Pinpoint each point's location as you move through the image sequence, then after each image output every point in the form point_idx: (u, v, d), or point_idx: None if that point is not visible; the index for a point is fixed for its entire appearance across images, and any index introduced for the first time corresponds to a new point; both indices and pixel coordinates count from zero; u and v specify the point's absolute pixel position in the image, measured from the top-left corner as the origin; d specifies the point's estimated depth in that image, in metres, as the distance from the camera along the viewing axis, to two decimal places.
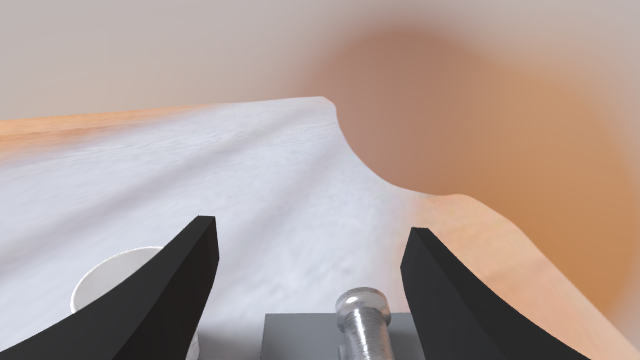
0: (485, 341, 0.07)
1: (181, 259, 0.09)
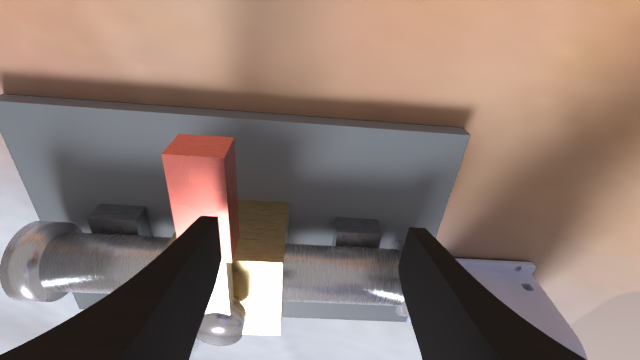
0: (481, 341, 0.07)
1: (185, 259, 0.09)
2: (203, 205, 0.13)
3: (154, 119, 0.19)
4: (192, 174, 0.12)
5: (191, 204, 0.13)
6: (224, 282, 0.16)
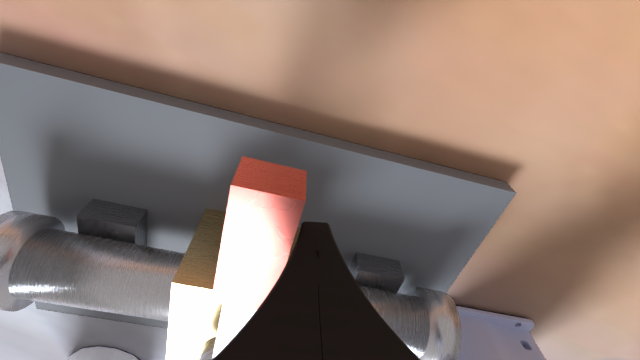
0: (320, 336, 0.07)
1: (317, 265, 0.09)
2: (260, 247, 0.11)
3: (183, 117, 0.17)
4: (259, 213, 0.10)
5: (246, 245, 0.11)
6: None
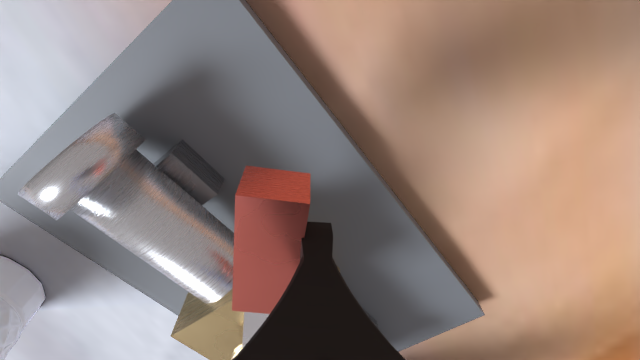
0: (305, 335, 0.07)
1: (329, 266, 0.09)
2: (272, 253, 0.11)
3: (334, 135, 0.17)
4: (267, 220, 0.10)
5: (258, 252, 0.11)
6: None
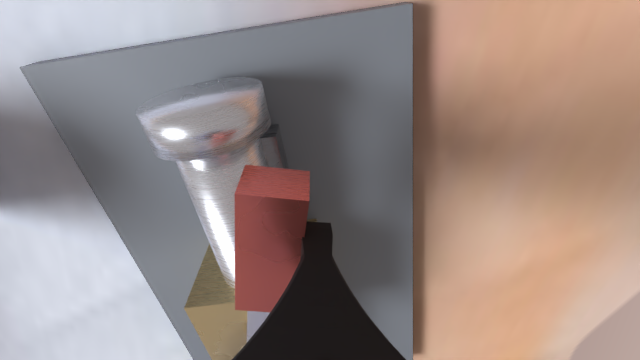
0: (306, 335, 0.07)
1: (329, 266, 0.09)
2: (273, 252, 0.11)
3: (404, 183, 0.19)
4: (266, 218, 0.10)
5: (259, 250, 0.11)
6: None
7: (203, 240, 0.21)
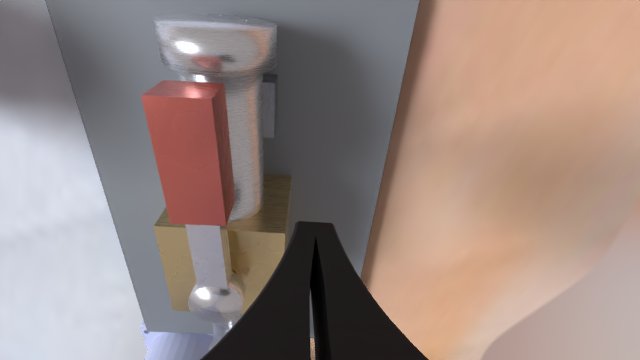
0: (327, 336, 0.07)
1: (309, 265, 0.09)
2: (191, 157, 0.12)
3: (378, 158, 0.21)
4: (176, 120, 0.11)
5: (178, 156, 0.12)
6: (219, 250, 0.15)
7: None
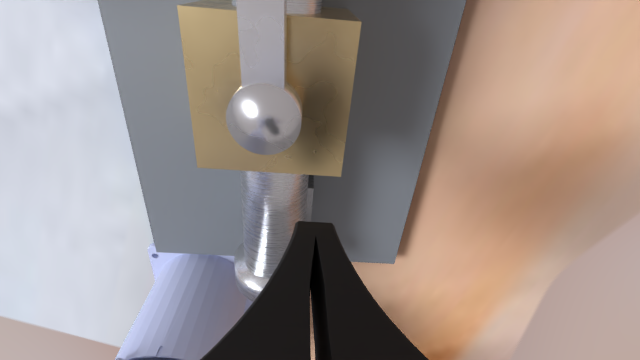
0: (327, 336, 0.07)
1: (309, 265, 0.09)
2: None
3: None
4: None
5: None
6: (279, 2, 0.10)
7: None
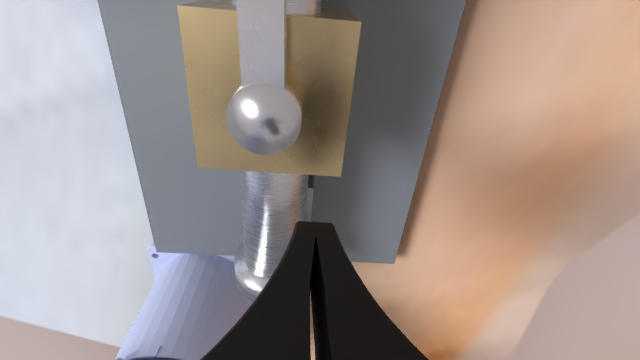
0: (327, 336, 0.07)
1: (309, 265, 0.09)
2: None
3: None
4: None
5: None
6: (279, 2, 0.10)
7: None
